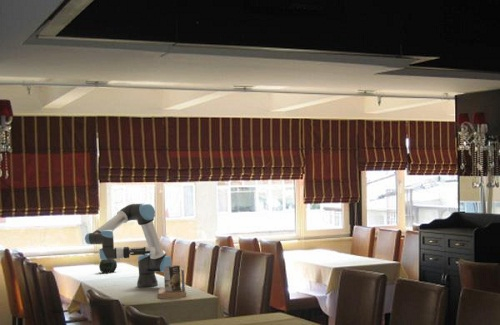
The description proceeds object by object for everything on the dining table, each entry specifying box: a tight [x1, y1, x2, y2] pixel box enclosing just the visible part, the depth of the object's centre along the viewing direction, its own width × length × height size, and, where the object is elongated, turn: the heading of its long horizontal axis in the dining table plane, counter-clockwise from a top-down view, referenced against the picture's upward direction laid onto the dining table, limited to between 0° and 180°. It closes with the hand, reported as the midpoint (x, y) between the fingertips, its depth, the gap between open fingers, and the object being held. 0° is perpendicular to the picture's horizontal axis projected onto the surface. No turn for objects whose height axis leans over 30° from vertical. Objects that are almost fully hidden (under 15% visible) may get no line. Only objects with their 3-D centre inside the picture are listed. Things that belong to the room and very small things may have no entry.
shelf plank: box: [158, 286, 187, 299], centre depth 483 cm, size 22×18×3 cm
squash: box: [98, 259, 118, 274], centre depth 620 cm, size 14×15×15 cm
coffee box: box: [163, 264, 182, 291], centre depth 483 cm, size 9×6×16 cm
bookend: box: [180, 266, 186, 291], centre depth 484 cm, size 16×2×14 cm, turn 7°
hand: (155, 250), depth 483 cm, fingers open, 13 cm apart
